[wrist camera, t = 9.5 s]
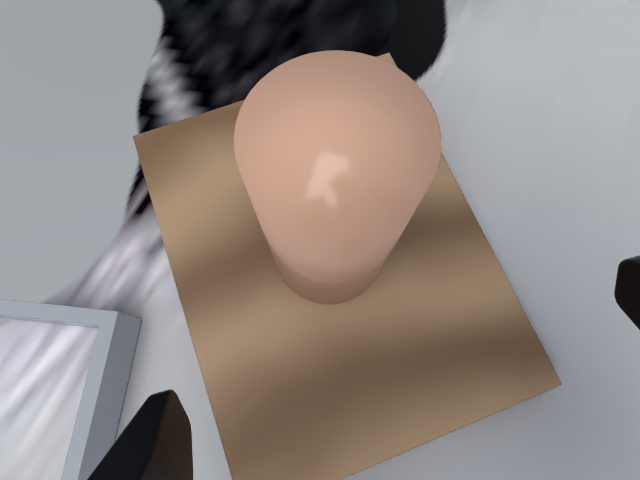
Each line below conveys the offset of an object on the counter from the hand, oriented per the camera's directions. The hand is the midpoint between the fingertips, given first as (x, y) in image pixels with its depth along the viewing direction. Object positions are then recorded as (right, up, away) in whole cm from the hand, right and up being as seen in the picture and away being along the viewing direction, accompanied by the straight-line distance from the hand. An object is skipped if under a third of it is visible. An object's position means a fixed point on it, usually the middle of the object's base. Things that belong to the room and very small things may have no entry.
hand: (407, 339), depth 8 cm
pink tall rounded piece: (-1, +1, +12) cm, 12 cm away
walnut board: (-1, +1, +13) cm, 13 cm away
